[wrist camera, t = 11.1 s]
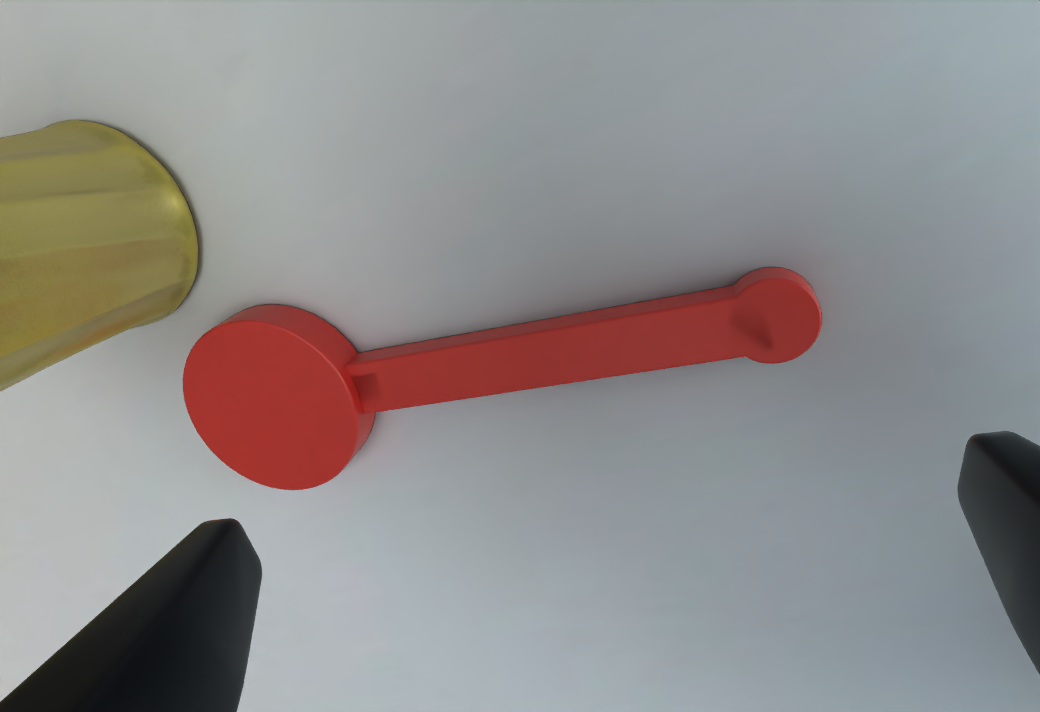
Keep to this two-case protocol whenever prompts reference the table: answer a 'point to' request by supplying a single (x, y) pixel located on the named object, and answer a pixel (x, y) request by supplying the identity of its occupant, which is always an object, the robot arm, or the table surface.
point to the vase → (85, 243)
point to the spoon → (455, 367)
